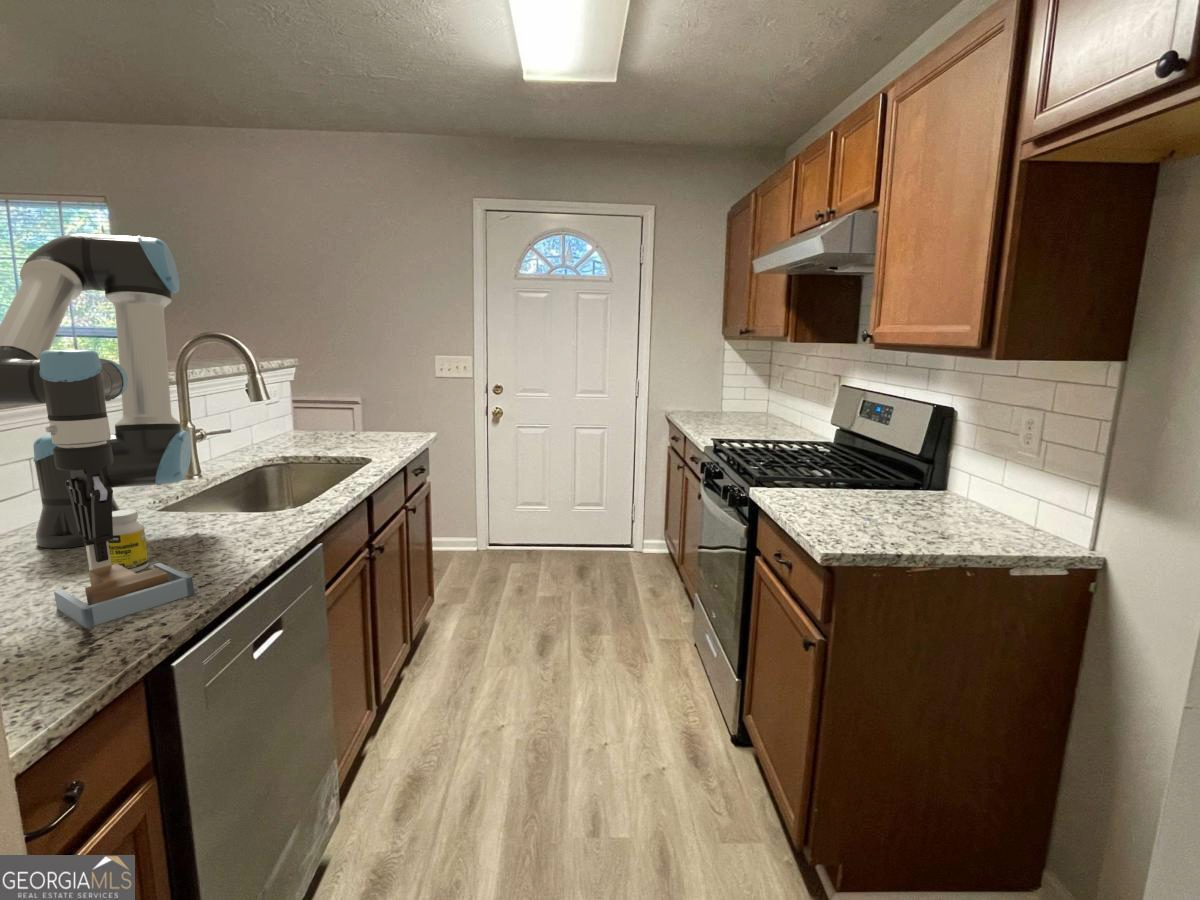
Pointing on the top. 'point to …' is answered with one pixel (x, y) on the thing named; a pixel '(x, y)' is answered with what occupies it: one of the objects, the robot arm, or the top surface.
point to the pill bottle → (128, 541)
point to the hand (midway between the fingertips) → (101, 577)
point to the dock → (126, 600)
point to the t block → (120, 582)
